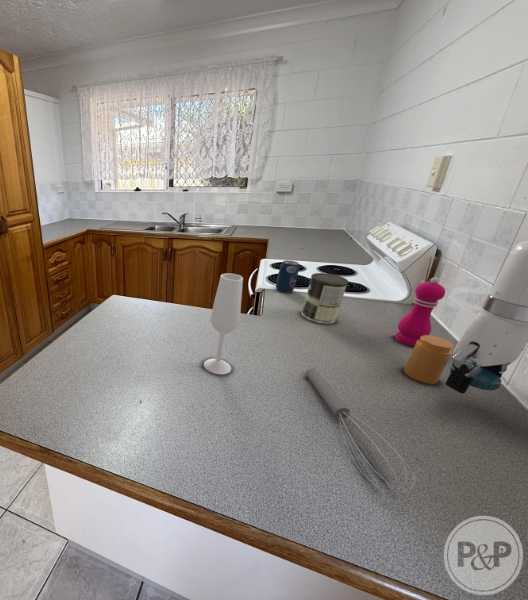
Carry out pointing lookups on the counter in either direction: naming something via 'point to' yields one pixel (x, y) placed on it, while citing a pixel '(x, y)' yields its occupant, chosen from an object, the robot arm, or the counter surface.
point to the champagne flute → (225, 316)
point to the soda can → (287, 276)
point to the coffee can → (324, 297)
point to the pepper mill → (420, 313)
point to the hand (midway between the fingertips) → (468, 386)
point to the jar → (428, 359)
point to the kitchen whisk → (343, 413)
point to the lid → (484, 379)
